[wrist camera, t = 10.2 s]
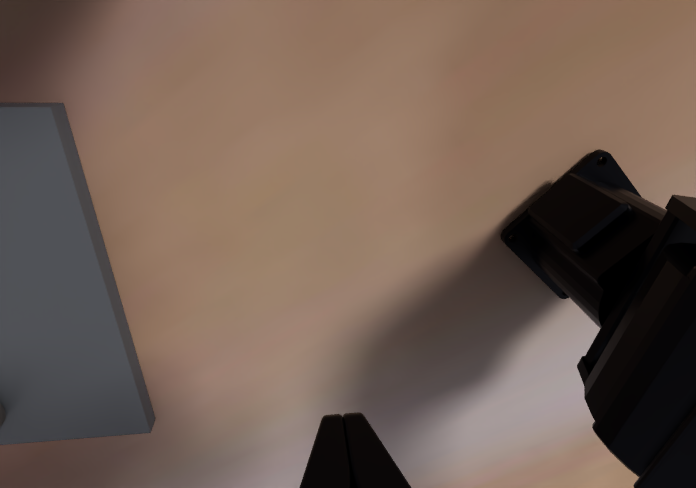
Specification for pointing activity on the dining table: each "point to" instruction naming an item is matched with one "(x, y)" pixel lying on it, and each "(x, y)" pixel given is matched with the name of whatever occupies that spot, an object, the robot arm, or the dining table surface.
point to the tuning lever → (2, 415)
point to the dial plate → (58, 294)
